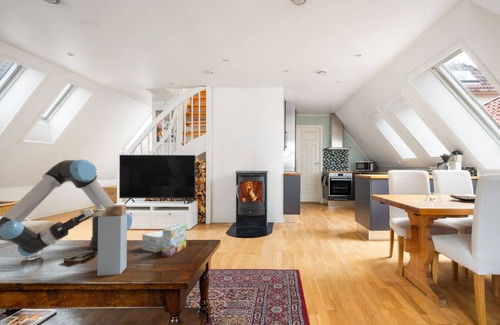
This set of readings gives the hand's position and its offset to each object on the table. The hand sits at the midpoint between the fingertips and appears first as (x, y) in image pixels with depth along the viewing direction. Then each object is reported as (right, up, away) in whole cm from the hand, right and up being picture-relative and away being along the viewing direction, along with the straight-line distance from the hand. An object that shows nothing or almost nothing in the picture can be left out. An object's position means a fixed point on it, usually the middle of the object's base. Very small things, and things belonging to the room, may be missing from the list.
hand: (97, 209), depth 131 cm
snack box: (+28, -32, +32) cm, 54 cm away
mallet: (+3, -3, 0) cm, 4 cm away
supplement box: (+17, -32, +41) cm, 55 cm away
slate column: (+7, -30, 0) cm, 31 cm away
